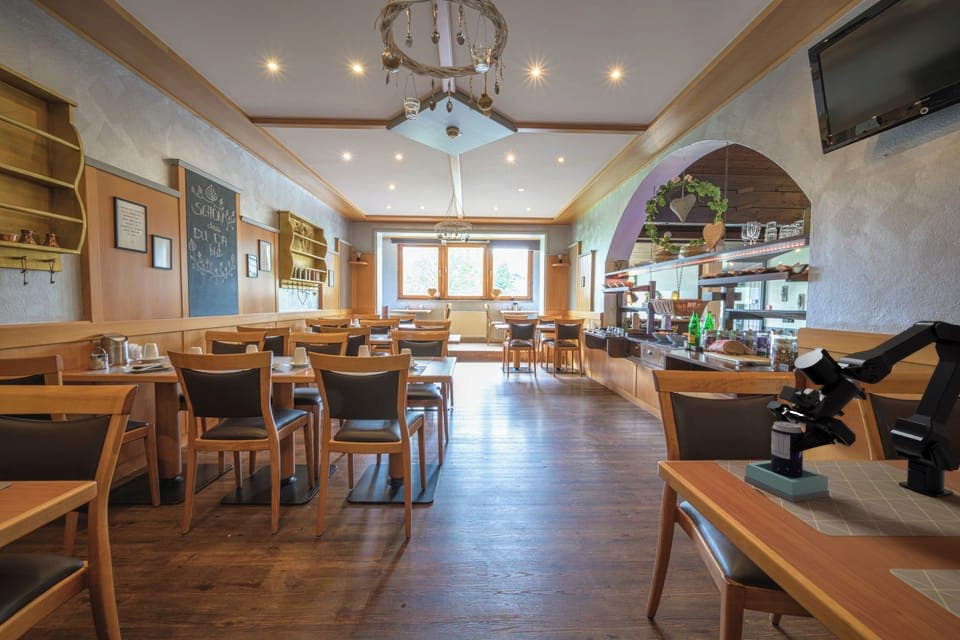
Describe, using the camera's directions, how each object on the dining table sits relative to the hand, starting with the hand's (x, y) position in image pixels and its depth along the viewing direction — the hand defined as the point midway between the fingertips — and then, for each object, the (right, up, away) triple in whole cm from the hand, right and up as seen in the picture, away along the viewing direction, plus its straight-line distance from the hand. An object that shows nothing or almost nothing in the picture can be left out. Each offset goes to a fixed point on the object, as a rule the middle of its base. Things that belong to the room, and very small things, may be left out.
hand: (781, 447), depth 90 cm
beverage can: (+1, -7, 0) cm, 7 cm away
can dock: (+1, -9, 0) cm, 10 cm away
